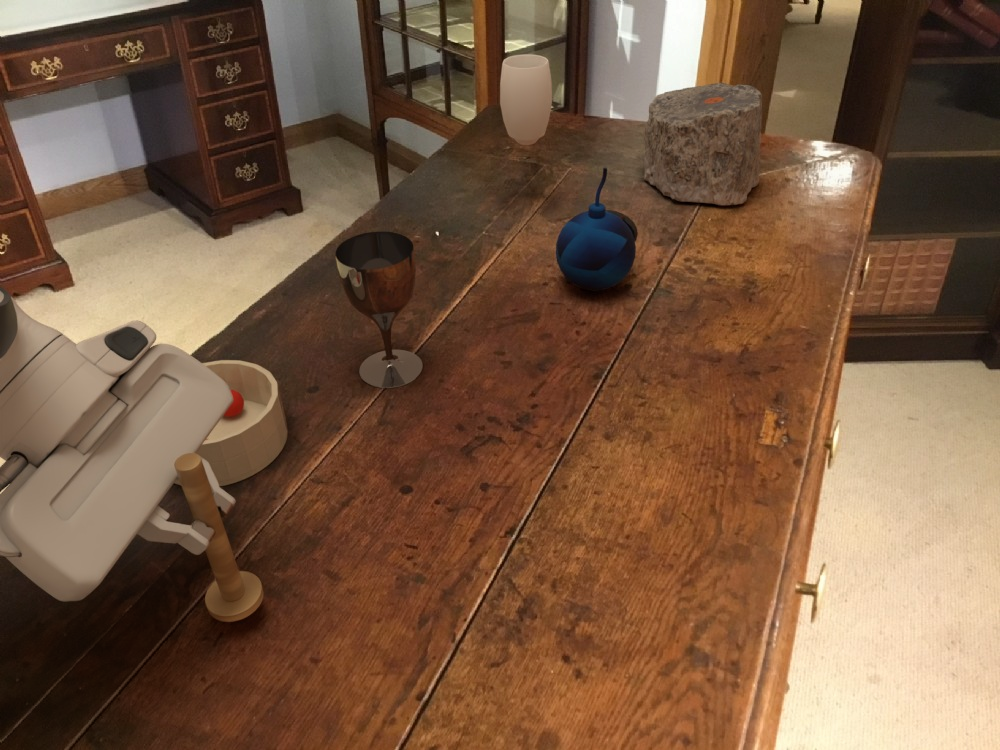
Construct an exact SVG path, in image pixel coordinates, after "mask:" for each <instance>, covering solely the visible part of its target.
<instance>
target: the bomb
mask: <svg viewBox="0 0 1000 750" xmlns="http://www.w3.org/2000/svg"><path fill="white" fill-rule="evenodd" d="M607 176H608V167H603V169H602V177H601V180H600V183H599V185H598V187H597V190H596V194H595V199H594V202H593V203H590V205H589V206H588V210H587V211H583V212H581V213H579V214H577V215H575V216H573V217H572V218H571V219H569V220H568V221H567V222H566V223H565V225H564V226H563V227H562V228H561V230H560V231H559V234H558V236H557V239H556V243H555V258H556V263H557V266H558V268H559V269H560V272H561V273H562V275H563V276H564V278H565V279H566V280H567V281H569V283H571V284H573V285H574V286H576V287H578V288H580V289H583V290H586V291H593V292H594V291H604V290H607V289H610V288H613V287H614V286H617V285H618V284H619V283H621V282H622V281H623V280H625V278H626V277H627V276H628V274H629V273H630V271H631V270H632V267H633V266H634V262H635V259H636V252H637V246H636V241H637V239H638V233H639V231H638V227H637V225H636V224H635V222H634V221H633V220H632V219H631V218H630V217H629V216H628V215H626V214H624V213H622V212H619V211H617V210H612V209H607V208H606V207H607V206H605V204H604V203H602V202H600V198H601V197H600V196H601V194H602V193H601V192H602V189H603V188H604V186H605V183H606V181H607Z"/></svg>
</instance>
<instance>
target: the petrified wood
mask: <svg viewBox="0 0 1000 750" xmlns="http://www.w3.org/2000/svg"><path fill="white" fill-rule="evenodd" d="M762 105H763V94H762V93H761V91H760V90H759V89H757V88H755V86H753V85H747V84H740V83H739V84H736V85H732V84H728V83H725V82H717V83H709V84H705V85H697V86H691V87H690V86H689V87H685V88H681V89H674V90H670V91H665V92H664V93H659V94H657V95H656V96H655V97H654V99H652V102H650V103H649V106H648V120H647V121H646V123H645V131H644V135H643V140H644V149H645V151H644V158H643V162H644V165H643V166H644V175H643V179H644V180H645V181H646V182H648V183H649V184H650V185H651V186H653V187H656V189H657V190H658V191H660V192H661V193H662V195H663V196H665V197H669V198H671V200H675V201H677V202H682V203H685V202H686V203H687V202H688V203H701V204H702V203H703V204H713V205H717V206H736V205H742V204H744V203H746V202H747V199H748V194H749V193H750V192H751V191H752V188H756V187H757V186H758V185H759V183H760V175H761V152H760V150H761V145H762V144H761V143H762V132H761V130H762V118H763V106H762Z"/></svg>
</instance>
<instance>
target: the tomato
mask: <svg viewBox="0 0 1000 750" xmlns="http://www.w3.org/2000/svg"><path fill="white" fill-rule="evenodd" d="M230 391H231V393H232V396H233V399H234V401H233V403H232V404H231V406H230V407H229V408H228V410H227V411H226V412H225V414H224V415H223V416H226V417H233V416H236V415H238V414H239V413H240V412H241V411H242V409H243V407H244V400H243V397H242V396H241V394H240V393H238V392H237V391H234V390H230Z"/></svg>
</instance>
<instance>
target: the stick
mask: <svg viewBox="0 0 1000 750" xmlns="http://www.w3.org/2000/svg"><path fill="white" fill-rule="evenodd" d="M174 467H175V469H176V472H177V475H178V478H179V480H180V483H181V485H180V486H181V488H182V491H183V494H184V496H185V500H186V502H187V505H188V508H189V511H190V514H191V516H192V519H193V522H194V521H195V520H197V519H200V520H201V521H203V522H204V523H206V526H207V527H211V528H212V529H214V530H215V532H216V534H215V536H214V537H213V539H212V541H211V542H210V544H209V546H208V547H207V549H206V550H205V551H204V552H205V554H206V557H207V559H208V562H209V566H210V568H211V570H212V571H211V572H212V574H213V576H214V579H215V580H214V581H213V582H212V583H211V584H210V586H209V587H208V589H207V590H206V593H205V597H204V603H205V606H206V609H207V610H208V613H209V615H210V616H211V617H212V618H213V619H215V620H217V621H220V622H226V623H231V622H232V623H233V622H237V621H241V620H243V619H245V618H248V617H249V616H251V615H252V614H253V613H254V612H256V611H257V609H258V608H259V607H260V606H261V604H262V601H263V600H264V594H265V592H264V591H265V590H264V587H263V584H262V582H261V580H260V578H259V577H258V576H257V575H255V574H254V573H252V572H250V571H246V570H240V569H239V567H238V564H237V561H236V558H235V554H234V551H233V549H232V546H231V543H230V540H229V537H228V534H227V531H226V528H225V525H224V523H223V520H222V519H221V516H220V513H219V510H218V507H217V504H216V501H215V498H214V495H213V492H212V489H211V486H210V483H209V480H208V477H207V474H206V471H205V468H204V465H203V462H202V459H201V457H200V456H199V455H198V454H196V453H187V454H184V455H182V456H180V457H179V458H177V459H176V461H175V463H174Z"/></svg>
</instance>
